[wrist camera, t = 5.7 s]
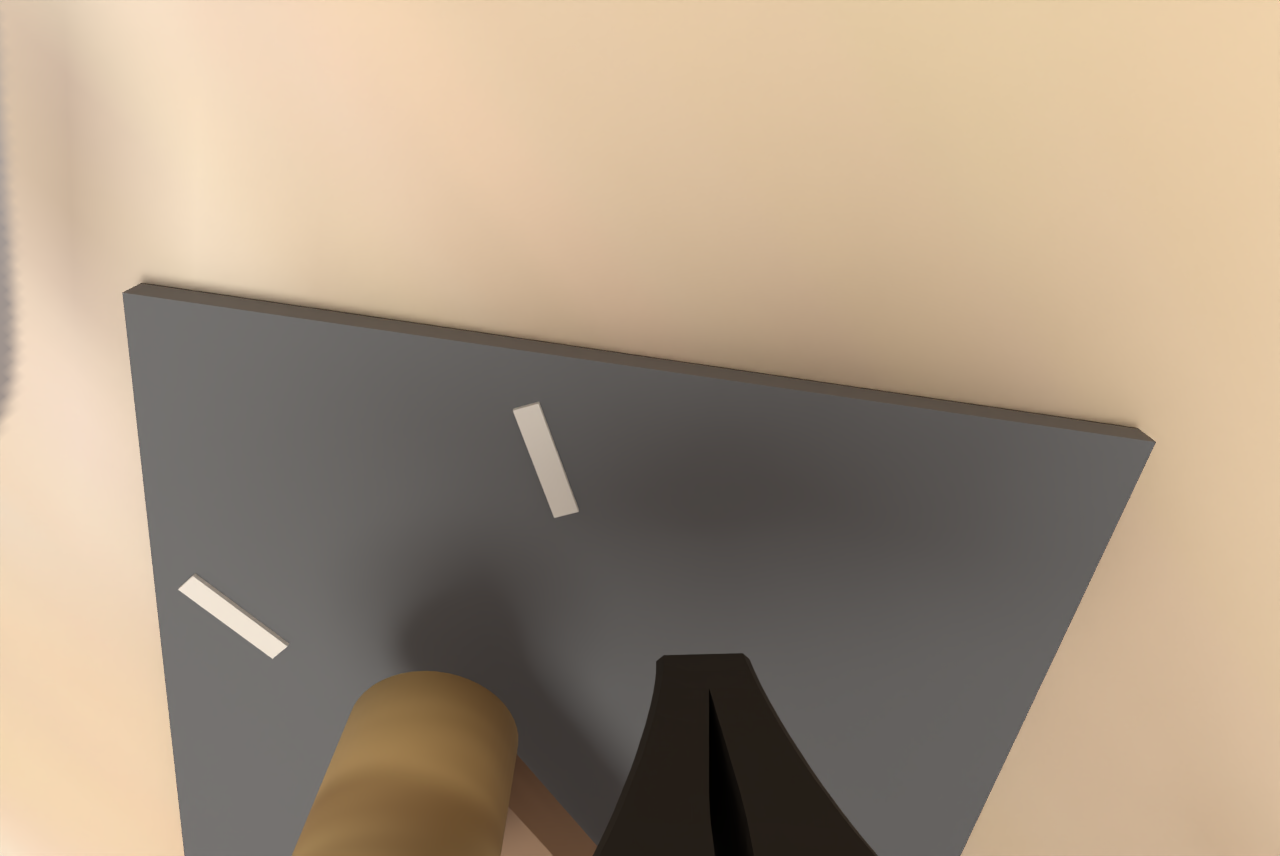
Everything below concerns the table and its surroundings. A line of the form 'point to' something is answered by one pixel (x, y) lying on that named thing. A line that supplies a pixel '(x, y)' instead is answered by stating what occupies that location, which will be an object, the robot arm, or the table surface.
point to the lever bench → (591, 556)
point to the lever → (434, 779)
